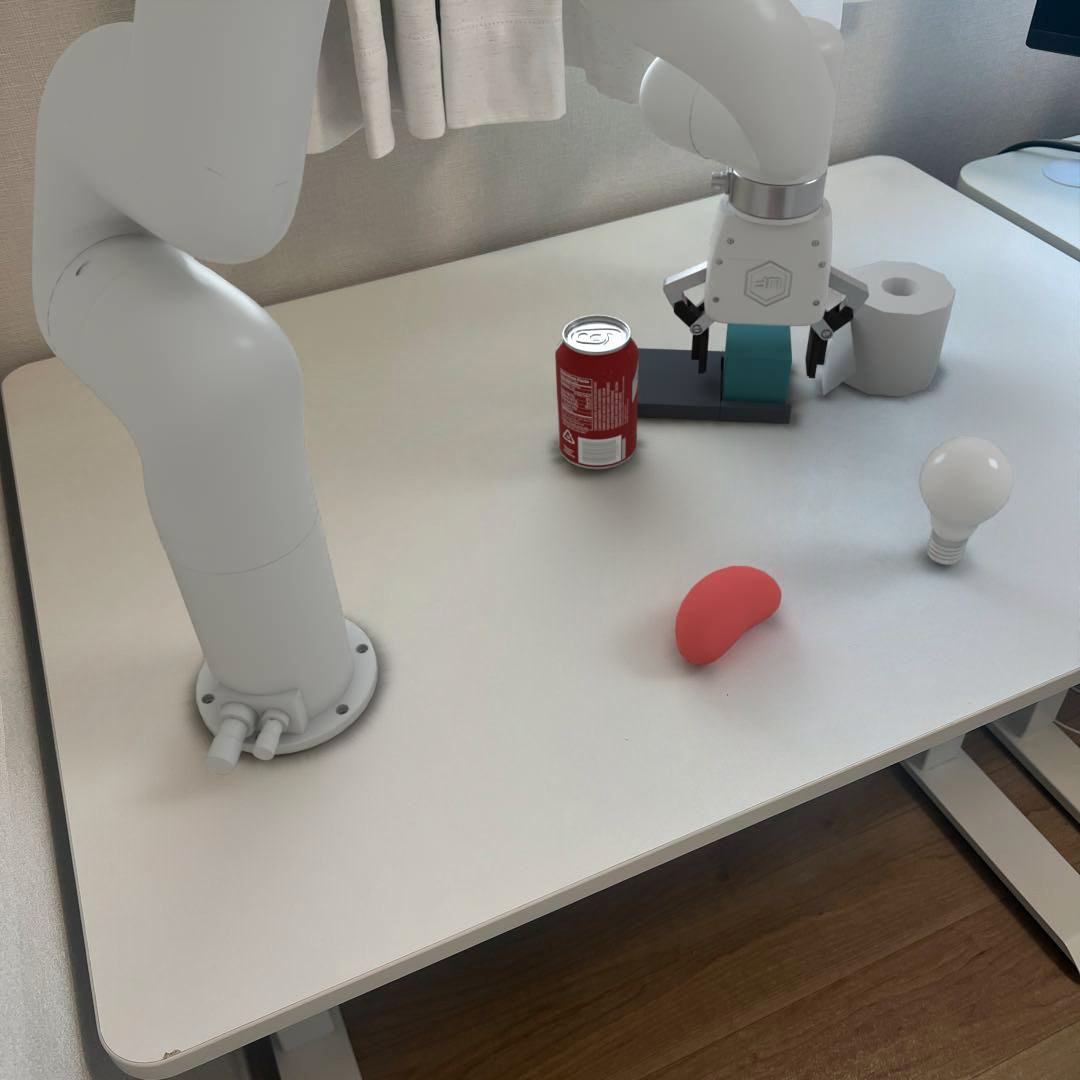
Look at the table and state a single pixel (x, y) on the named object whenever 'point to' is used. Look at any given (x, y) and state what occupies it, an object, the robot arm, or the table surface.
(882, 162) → the table surface
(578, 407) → the soda can
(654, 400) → the dark grey u-shaped block
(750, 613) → the red kidney bean
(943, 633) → the table surface
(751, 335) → the teal cube
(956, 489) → the lightbulb
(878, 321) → the toilet tissue
